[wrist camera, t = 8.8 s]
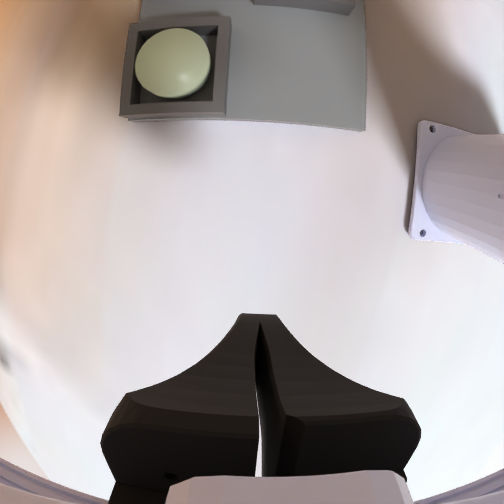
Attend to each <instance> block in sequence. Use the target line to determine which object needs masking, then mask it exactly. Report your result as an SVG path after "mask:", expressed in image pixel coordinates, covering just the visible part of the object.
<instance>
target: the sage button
mask: <svg viewBox="0 0 504 504" xmlns="http://www.w3.org/2000/svg"><path fill="white" fill-rule="evenodd" d="M211 68H212V60H211V56H210V53H209V50H208V48H207V46H206V44H205V42H204V41H203V39H202V38H201V37H200V36H199V35H198V34H196V33H194V32H193V31H190V30H187V29H182V28H173V29H167V30H164V31H161V32H159V33H157V34H155V35H154V36H152V37H151V38H150V39H148V40H147V41H146V42H145V43H144V45H143V46H142V47H141V49H140V51H139V53H138V55H137V58H136V62H135V72H136V76H137V78H138V80H139V82H140V84H141V85H142V86H143V87H144V88H145V89H147V90H148V91H150V92H151V93H153V94H155V95H156V96H158V97H160V98H163V99H168V100H177V99H183V98H186V97H188V96H190V95H192V94H194V93H196V92H197V91H198V90H199V89H200V88H201V87H202V86H203V85H204V84H205V83H206V81H207V80H208V78H209V76H210V73H211Z"/></svg>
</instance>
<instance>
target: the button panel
mask: <svg viewBox="0 0 504 504" xmlns="http://www.w3.org/2000/svg"><path fill="white" fill-rule="evenodd" d="M173 28H182V29H187V30H190V31H193V32H194V33H196V34H198V35H199V36H200V37H201V38H202V39H203V41H204V42H205V44H206V46H207V48H208V50H209V53H210V56H211V60H212V68H211V73H210V76H209V78H208V80H207V81H206V83H205V84H204V85H203V86H202V87H201V88H200V89H199V90H198V91H197V92H196V93H194V94H192V95H190V96H188V97H186V98H183V99H177V100H168V99H163V98H160V97H158V96H156V95H155V94H153V93H151V92H150V91H148V90H147V89H145V88H144V87H143V86H142V85H141V84H140V82H139V80H138V78H137V76H136V72H135V62H136V58H137V55H138V53H139V51H140V49H141V47H142V46H143V45H144V43H145V42H146V41H147V40H148V39H150V38H151V37H152V36H154V35H155V34H157V33H159V32H161V31H164V30H167V29H173ZM366 93H367V60H366V27H365V9H364V0H142V6H141V11H140V17H139V23H133V24H130V25H129V32H128V38H127V45H126V52H125V60H124V69H123V78H122V88H121V100H120V114H119V116H121V117H125V118H128V121H131V122H146V121H171V120H234V121H258V122H275V123H289V124H301V125H311V126H321V127H330V128H338V129H346V130H353V131H365V128H366Z"/></svg>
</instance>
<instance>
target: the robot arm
mask: <svg viewBox="0 0 504 504" xmlns="http://www.w3.org/2000/svg"><path fill="white" fill-rule="evenodd" d="M430 126H432V128H433V132H431V131H430V129H429V128H430ZM421 230H423V234H422V235H421V236H420V231H421ZM408 234H409V236H410V237H411V238H412V239H414V240H423V241H436V242H448V243H460V244H466V245H468V246H470V247H472V248H474V249H476V250H478V251H480V252H482V253H484V254H486V255H488V256H490V257H492V258H494V259H496V260H498V261H500V262H502V263H503V264H504V134H488V135H477V134H474V133H471V132H467V131H464V130H461V129H457V128H454V127H450V126H447V125H443V124H439V123H435V122H431V121H427V120H422V121H420V122H419V123H418V133H417V153H416V168H415V180H414V190H413V199H412V208H411V216H410V223H409V230H408ZM255 383H256V384H255ZM256 392H257V397H256ZM257 401H258V407H257ZM258 409H259V414H258ZM259 417H260V425H261V436H262V477H255V470H256V461H257V452H258V443H259ZM420 438H421V428H420V426H419V424H418V422H417V420H416V418H415V416H414V414H413V412H412V410H411V409H410V407H409V406H408V404H407V402H406V401H405V400H404V399H403V398H399V397H396V396H392V395H389V394H385V393H382V392H378V391H376V390H373V389H370V388H368V387H365V386H363V385H360V384H358V383H356V382H354V381H352V380H350V379H348V378H346V377H344V376H343V375H341V374H339V373H337V372H335V371H334V370H332V369H331V368H329V367H328V366H326V365H325V364H324V363H322V362H321V361H319V360H318V359H317V358H315V357H314V356H313V355H312V354H311V353H310V352H308V351H307V350H306V349H305V348H304V347H303V346H302V345H301V344H300V343H299V342H298V341H297V340H296V339H295V337H294V336H293V335H292V334H291V333H290V332H289V330H288V329H287V328H286V327H285V325H284V324H283V323H282V321H281V320H280V319H279V317H278V316H277V315H269V314H246V313H242V314H240V315H239V316H238V318H237V320H236V322H235V324H234V325H233V327H232V328H231V329H230V331H229V332H228V333H227V334H226V336H225V337H224V338H223V339H222V341H221V342H220V343H219V344H218V345H217V346H216V347H215V348H214V349H213V350H212V351H211V352H210V353H209V354H208V355H206V356H205V357H204V358H203V359H202V360H200V361H199V362H198V363H196V364H195V365H193V366H192V367H190V368H189V369H187V370H185V371H184V372H182V373H180V374H178V375H176V376H174V377H172V378H170V379H168V380H166V381H163V382H161V383H158V384H156V385H153V386H150V387H147V388H143V389H140V390H137V391H133V392H129V393H126V394H125V396H124V397H123V399H122V400H121V402H120V403H119V404H118V406H117V407H116V409H115V411H114V412H113V414H112V416H111V418H110V420H109V422H108V424H107V426H106V428H105V430H104V432H103V434H102V438H101V442H100V444H101V448H102V452H103V454H104V457H105V459H106V461H107V463H108V466H109V468H110V470H111V472H112V474H113V476H114V478H115V480H116V482H115V485H114V488H113V491H112V494H111V496H110V499H109V501H108V500H105V499H101V498H98V497H94V496H91V495H88V494H85V493H82V492H79V491H76V490H73V489H70V488H68V487H65V486H62V485H60V484H57V483H54V482H52V481H49V480H47V479H44V478H42V477H40V476H37V475H35V474H33V473H31V472H28V471H26V470H24V469H22V468H20V467H18V466H15V465H14V464H12V463H10V462H8V461H6V460H4V459H2V458H0V504H504V469H502V470H500V471H497V472H495V473H493V474H491V475H489V476H486V477H484V478H482V479H479V480H477V481H474V482H472V483H469V484H467V485H464V486H461V487H459V488H456V489H453V490H450V491H448V492H445V493H442V494H439V495H435V496H432V497H429V498H426V499H422V500H419V501H415V502H413V500H412V497H411V495H410V492H409V490H408V487H407V484H406V482H407V477H406V475H405V472H404V470H403V469H404V468H405V466H406V464H407V463H408V461H409V459H410V458H411V456H412V454H413V453H414V451H415V449H416V448H417V446H418V443H419V441H420Z"/></svg>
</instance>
